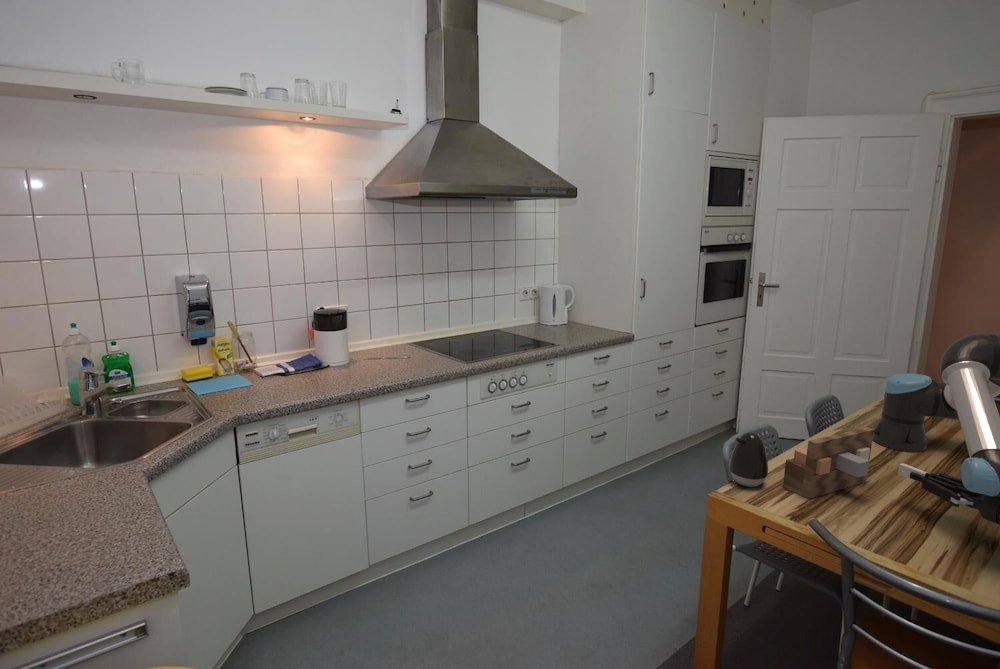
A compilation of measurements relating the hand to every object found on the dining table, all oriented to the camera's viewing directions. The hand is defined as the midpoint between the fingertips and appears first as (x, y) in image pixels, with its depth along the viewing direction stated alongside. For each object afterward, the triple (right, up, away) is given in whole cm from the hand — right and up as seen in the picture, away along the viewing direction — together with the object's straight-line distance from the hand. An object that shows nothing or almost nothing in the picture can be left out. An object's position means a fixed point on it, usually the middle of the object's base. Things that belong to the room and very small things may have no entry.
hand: (900, 468), depth 149 cm
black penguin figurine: (-35, -7, +13) cm, 38 cm away
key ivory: (-6, 0, +13) cm, 14 cm away
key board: (-13, -7, +12) cm, 19 cm away
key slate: (-11, -2, +5) cm, 12 cm away
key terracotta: (-20, -1, +6) cm, 21 cm away
